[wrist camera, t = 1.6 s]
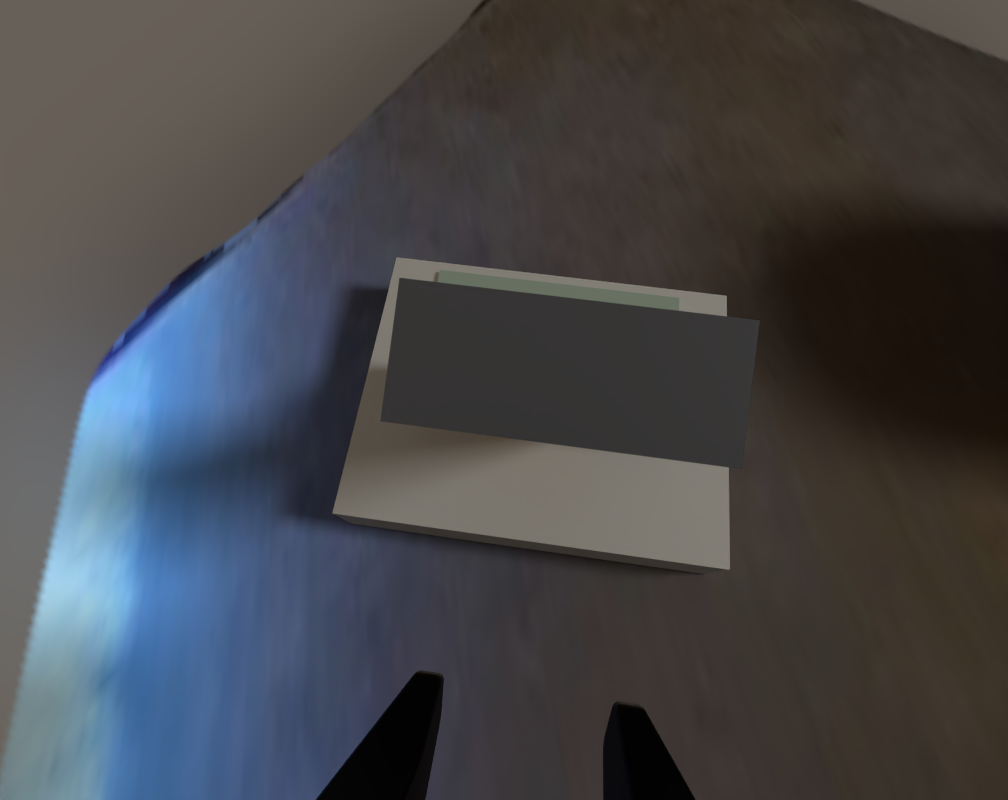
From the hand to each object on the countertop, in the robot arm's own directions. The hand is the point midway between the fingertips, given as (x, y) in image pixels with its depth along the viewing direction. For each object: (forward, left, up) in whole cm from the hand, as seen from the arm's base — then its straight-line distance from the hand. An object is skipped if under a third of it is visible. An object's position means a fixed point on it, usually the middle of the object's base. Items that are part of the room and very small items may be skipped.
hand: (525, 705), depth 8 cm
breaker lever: (+7, +5, -9) cm, 12 cm away
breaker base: (+7, +5, -13) cm, 15 cm away
